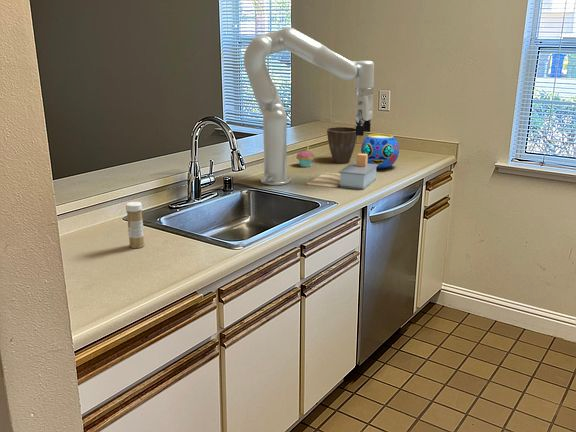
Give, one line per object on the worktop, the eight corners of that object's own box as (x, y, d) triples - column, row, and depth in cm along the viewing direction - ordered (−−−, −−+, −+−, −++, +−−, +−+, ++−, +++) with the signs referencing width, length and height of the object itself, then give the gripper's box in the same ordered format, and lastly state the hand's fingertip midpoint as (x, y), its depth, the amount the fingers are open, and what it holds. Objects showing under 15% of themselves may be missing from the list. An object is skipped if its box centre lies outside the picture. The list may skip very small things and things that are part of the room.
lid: (364, 177, 238) (365, 161, 236) (338, 175, 242) (339, 159, 240) (377, 168, 254) (378, 152, 252) (353, 165, 259) (353, 150, 257)
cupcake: (317, 165, 282) (317, 140, 278) (308, 168, 275) (308, 143, 272) (302, 163, 286) (302, 138, 283) (292, 166, 280) (292, 141, 276)
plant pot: (335, 157, 299) (336, 125, 294) (362, 161, 291) (363, 128, 286) (320, 162, 287) (321, 130, 282) (347, 166, 279) (348, 133, 274)
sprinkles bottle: (130, 243, 180) (127, 201, 176) (145, 243, 181) (142, 200, 177) (128, 249, 176) (124, 205, 172) (143, 248, 177) (140, 205, 172)
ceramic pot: (357, 170, 272) (358, 138, 267) (364, 162, 288) (365, 131, 283) (395, 172, 267) (397, 140, 262) (400, 164, 283) (402, 133, 279)
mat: (336, 187, 242) (336, 186, 242) (306, 184, 248) (306, 183, 247) (352, 176, 262) (352, 175, 261) (325, 173, 267) (325, 172, 267)
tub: (363, 189, 240) (363, 175, 238) (340, 186, 244) (340, 172, 242) (375, 179, 256) (376, 165, 254) (353, 177, 259) (354, 163, 258)
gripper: (367, 94, 233) (365, 137, 238) (378, 90, 248) (377, 130, 253) (348, 93, 236) (347, 136, 241) (361, 89, 251) (360, 129, 256)
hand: (363, 133), depth 247 cm, fingers open, 9 cm apart
